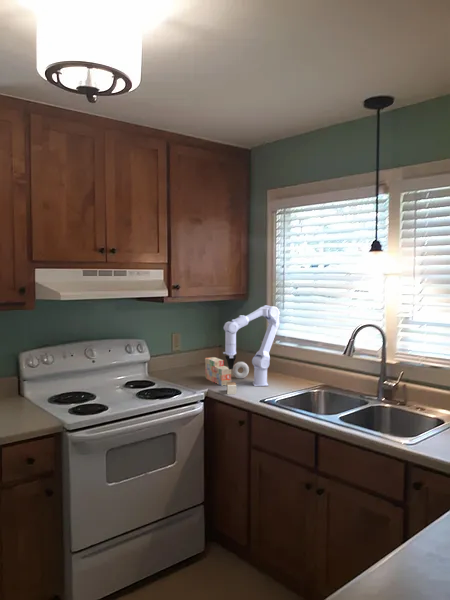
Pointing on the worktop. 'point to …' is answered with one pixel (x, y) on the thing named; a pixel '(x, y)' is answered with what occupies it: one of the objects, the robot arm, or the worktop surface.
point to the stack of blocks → (217, 371)
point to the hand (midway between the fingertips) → (230, 369)
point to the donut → (237, 366)
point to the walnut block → (231, 388)
